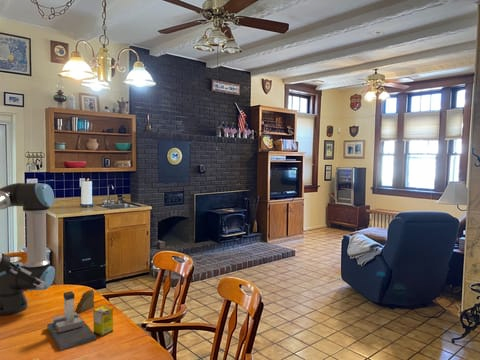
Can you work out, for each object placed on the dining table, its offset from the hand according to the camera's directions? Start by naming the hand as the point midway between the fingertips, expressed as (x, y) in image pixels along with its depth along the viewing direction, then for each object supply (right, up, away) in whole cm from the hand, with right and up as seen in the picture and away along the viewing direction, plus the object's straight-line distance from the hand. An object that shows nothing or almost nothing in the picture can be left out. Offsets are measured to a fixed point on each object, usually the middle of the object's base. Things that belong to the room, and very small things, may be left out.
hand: (36, 280), depth 161 cm
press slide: (+14, -21, 0) cm, 26 cm away
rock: (+10, -22, +25) cm, 35 cm away
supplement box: (+29, -24, +1) cm, 38 cm away
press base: (+16, -23, -1) cm, 28 cm away
